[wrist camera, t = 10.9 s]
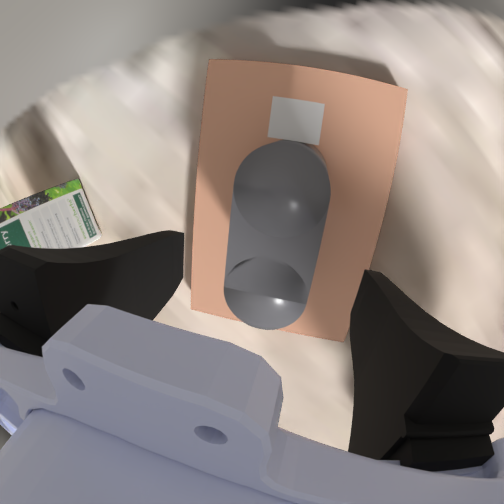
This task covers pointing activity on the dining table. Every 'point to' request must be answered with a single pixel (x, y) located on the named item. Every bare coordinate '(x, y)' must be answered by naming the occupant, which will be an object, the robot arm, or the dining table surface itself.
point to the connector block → (278, 219)
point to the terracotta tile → (338, 166)
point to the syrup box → (50, 219)
